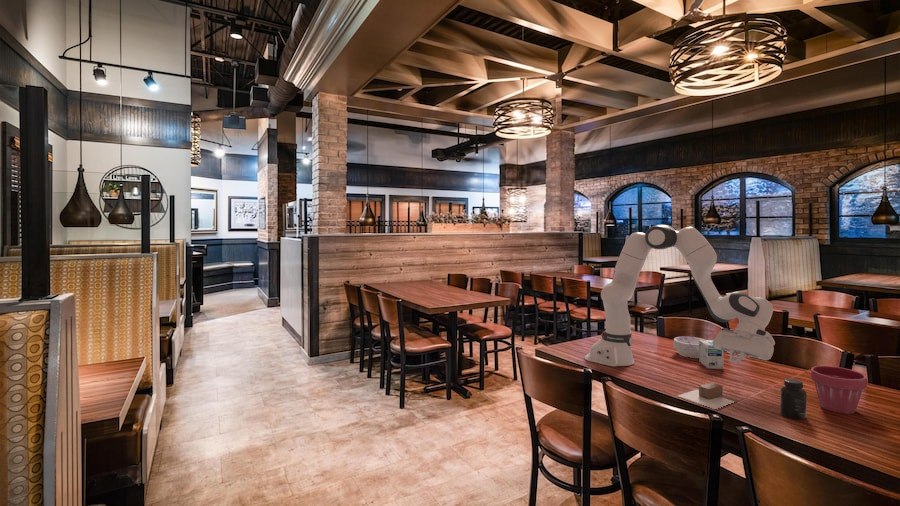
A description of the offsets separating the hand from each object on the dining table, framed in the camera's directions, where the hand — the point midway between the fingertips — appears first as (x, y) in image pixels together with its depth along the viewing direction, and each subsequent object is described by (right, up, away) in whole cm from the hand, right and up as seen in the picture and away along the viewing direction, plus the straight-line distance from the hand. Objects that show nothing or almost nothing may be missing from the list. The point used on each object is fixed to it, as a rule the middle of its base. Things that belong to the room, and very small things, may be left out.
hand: (733, 361), depth 162 cm
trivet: (-16, -12, -8) cm, 21 cm away
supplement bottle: (+4, -12, -22) cm, 26 cm away
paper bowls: (+10, -9, +46) cm, 48 cm away
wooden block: (-9, -9, -4) cm, 13 cm away
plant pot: (+24, -12, -18) cm, 32 cm away
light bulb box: (+10, -10, +31) cm, 34 cm away
